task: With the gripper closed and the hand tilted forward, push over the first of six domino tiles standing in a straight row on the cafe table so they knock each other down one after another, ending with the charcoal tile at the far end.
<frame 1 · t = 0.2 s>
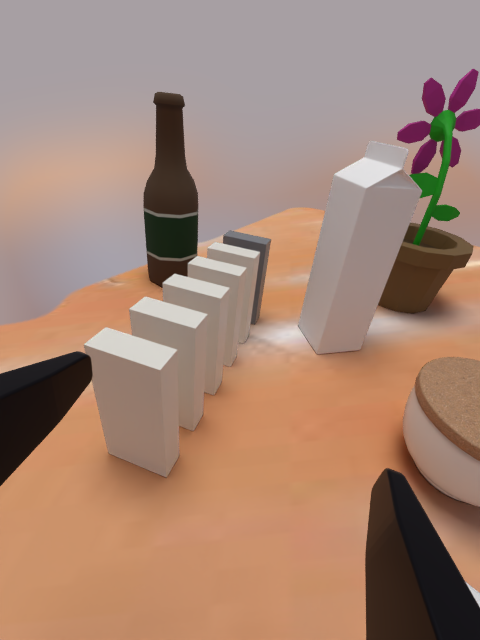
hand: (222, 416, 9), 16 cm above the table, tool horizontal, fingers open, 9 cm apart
domino 6: (238, 315, 44), on the table
milk: (327, 339, 41), on the table
beer bottle: (173, 278, 51), on the table
domino 1: (144, 454, 26), on the table
flowerpot: (393, 297, 53), on the table
domino 2: (172, 413, 29), on the table
domino 5: (226, 333, 40), on the table
domino 4: (212, 354, 36), on the table
lidded jar: (448, 467, 27), on the table
domino 3: (194, 380, 33), on the table
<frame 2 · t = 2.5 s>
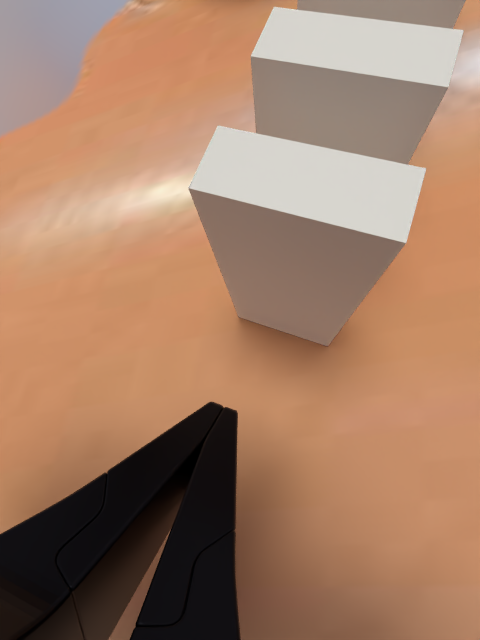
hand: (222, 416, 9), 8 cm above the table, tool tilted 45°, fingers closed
domino 1: (287, 315, 18), on the table
domino 2: (311, 246, 19), on the table
domino 3: (332, 185, 20), on the table
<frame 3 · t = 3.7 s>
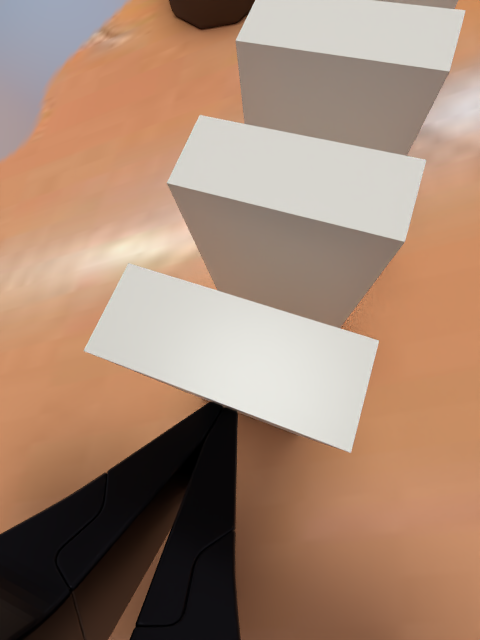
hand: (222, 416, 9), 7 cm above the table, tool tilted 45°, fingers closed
domino 1: (254, 396, 16), on the table
domino 2: (282, 317, 17), on the table
domino 4: (328, 182, 20), on the table
domino 3: (306, 246, 18), on the table
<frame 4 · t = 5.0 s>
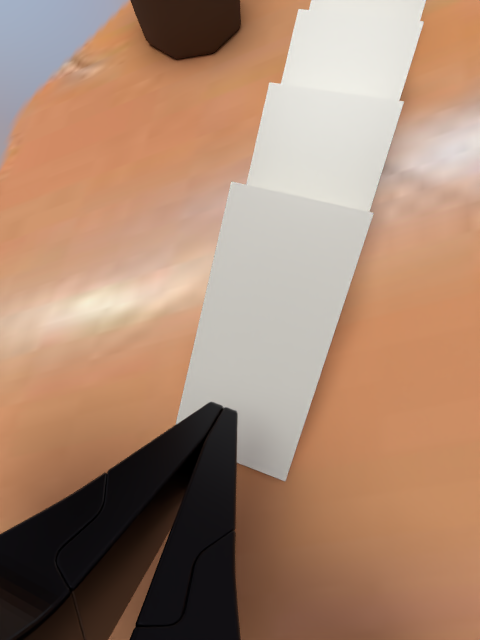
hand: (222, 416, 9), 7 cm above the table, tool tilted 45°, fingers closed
beer bottle: (194, 27, 24), on the table
domino 1: (232, 446, 15), point 1 cm above the table, tilted 64°
domino 2: (266, 349, 16), point 1 cm above the table, tilted 64°, touching domino 3
domino 4: (314, 198, 18), point 1 cm above the table, tilted 65°, touching domino 3
domino 3: (290, 271, 17), point 1 cm above the table, tilted 64°, touching domino 2, domino 4
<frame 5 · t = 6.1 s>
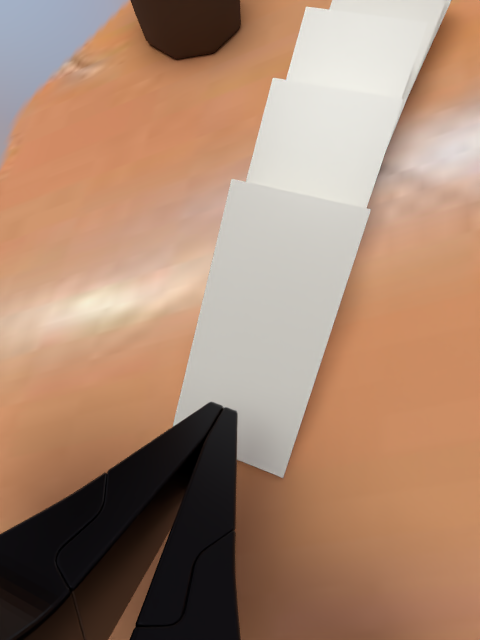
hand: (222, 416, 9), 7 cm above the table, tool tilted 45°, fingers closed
beer bottle: (194, 27, 24), on the table
domino 1: (231, 443, 15), point 1 cm above the table, tilted 65°, touching domino 2
domino 2: (262, 341, 16), point 1 cm above the table, tilted 65°, touching domino 1, domino 3
domino 4: (319, 186, 18), point 1 cm above the table, tilted 68°, touching domino 3, domino 5
domino 3: (289, 264, 17), point 1 cm above the table, tilted 65°, touching domino 2, domino 4
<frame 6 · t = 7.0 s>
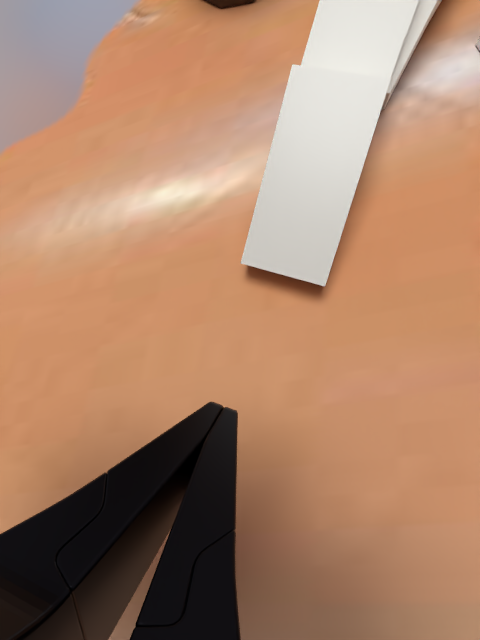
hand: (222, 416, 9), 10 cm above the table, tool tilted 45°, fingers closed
domino 1: (283, 274, 20), point 1 cm above the table, tilted 66°, touching domino 2
domino 2: (304, 203, 21), point 1 cm above the table, tilted 66°, touching domino 1, domino 3
domino 4: (352, 89, 23), point 1 cm above the table, tilted 68°, touching domino 3, domino 5
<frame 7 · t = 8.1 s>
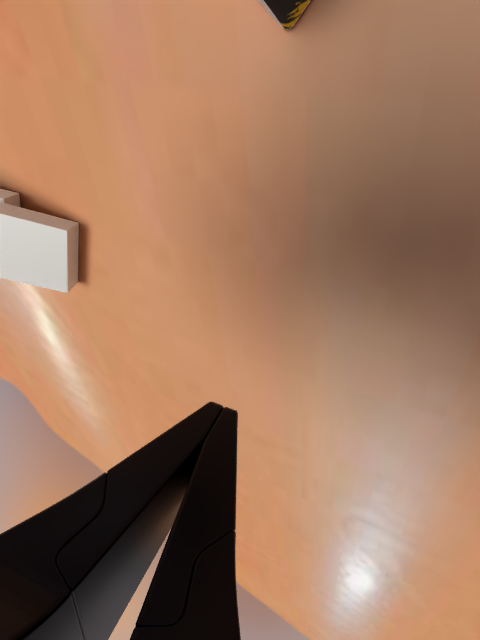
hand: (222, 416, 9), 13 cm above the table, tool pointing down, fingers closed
domino 1: (73, 258, 25), point 1 cm above the table, tilted 67°, touching domino 2
domino 2: (15, 228, 26), point 1 cm above the table, tilted 67°, touching domino 1, domino 3
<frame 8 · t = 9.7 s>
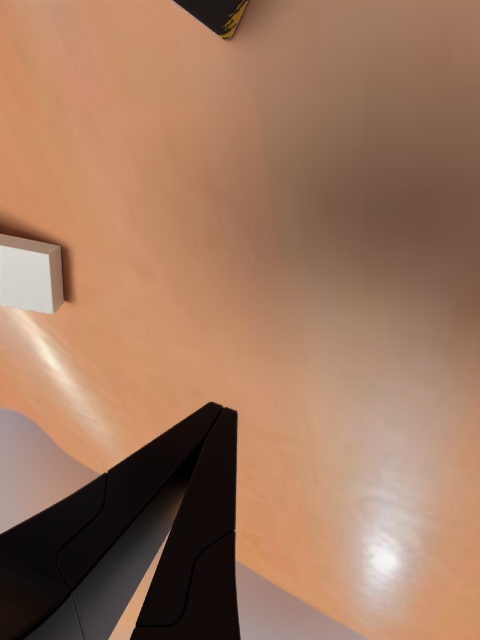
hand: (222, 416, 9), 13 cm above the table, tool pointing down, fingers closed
domino 1: (56, 280, 26), point 1 cm above the table, tilted 69°, touching domino 2
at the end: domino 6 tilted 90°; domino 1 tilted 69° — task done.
